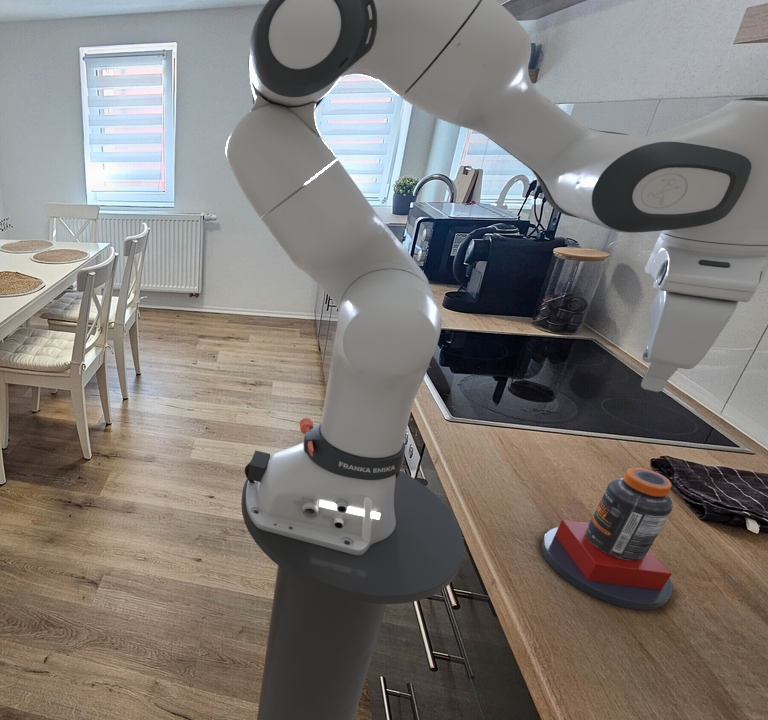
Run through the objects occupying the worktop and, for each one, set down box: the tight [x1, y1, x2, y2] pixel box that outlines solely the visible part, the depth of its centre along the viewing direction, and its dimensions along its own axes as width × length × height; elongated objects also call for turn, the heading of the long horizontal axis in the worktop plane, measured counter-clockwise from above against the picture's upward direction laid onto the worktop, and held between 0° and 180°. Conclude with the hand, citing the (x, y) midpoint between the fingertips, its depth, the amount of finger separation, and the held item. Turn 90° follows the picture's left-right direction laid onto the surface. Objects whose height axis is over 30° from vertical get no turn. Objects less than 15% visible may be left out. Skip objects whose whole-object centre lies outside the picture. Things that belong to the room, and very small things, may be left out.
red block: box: [555, 519, 672, 590], centre depth 66 cm, size 8×8×3 cm
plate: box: [540, 526, 674, 611], centre depth 67 cm, size 13×13×1 cm
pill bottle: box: [586, 467, 674, 561], centre depth 63 cm, size 6×6×11 cm
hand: (650, 374), depth 61 cm, fingers open, 8 cm apart
